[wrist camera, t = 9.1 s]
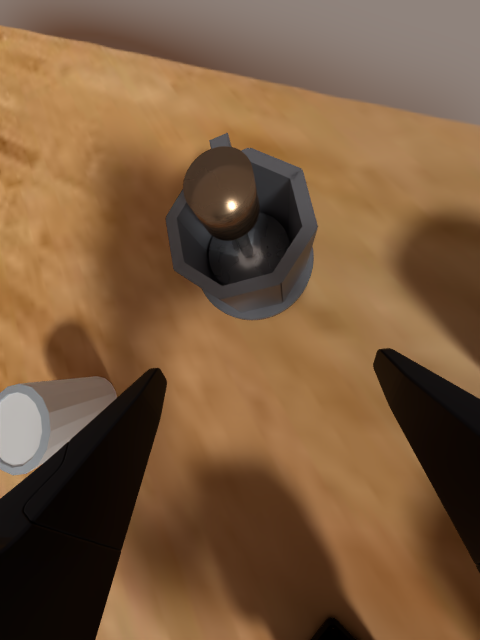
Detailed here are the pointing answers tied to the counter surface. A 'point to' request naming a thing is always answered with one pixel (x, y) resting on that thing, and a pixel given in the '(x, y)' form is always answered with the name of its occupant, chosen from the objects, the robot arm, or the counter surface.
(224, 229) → the plunger
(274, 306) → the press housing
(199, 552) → the counter surface
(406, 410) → the robot arm
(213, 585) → the counter surface
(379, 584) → the counter surface
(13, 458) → the shot glass
